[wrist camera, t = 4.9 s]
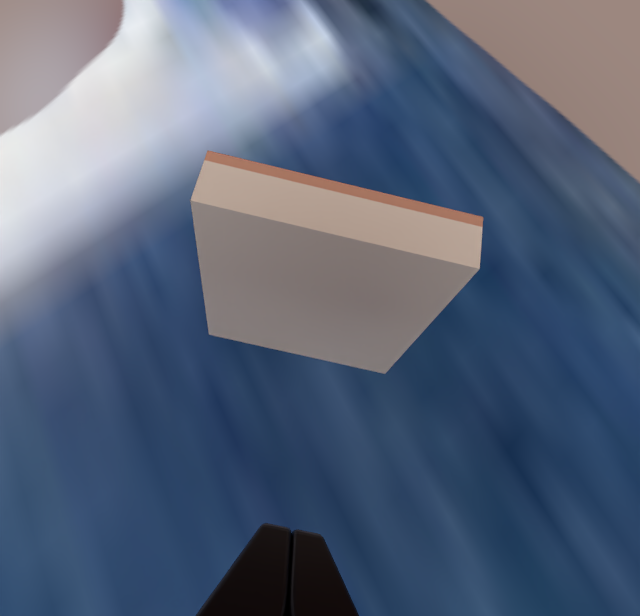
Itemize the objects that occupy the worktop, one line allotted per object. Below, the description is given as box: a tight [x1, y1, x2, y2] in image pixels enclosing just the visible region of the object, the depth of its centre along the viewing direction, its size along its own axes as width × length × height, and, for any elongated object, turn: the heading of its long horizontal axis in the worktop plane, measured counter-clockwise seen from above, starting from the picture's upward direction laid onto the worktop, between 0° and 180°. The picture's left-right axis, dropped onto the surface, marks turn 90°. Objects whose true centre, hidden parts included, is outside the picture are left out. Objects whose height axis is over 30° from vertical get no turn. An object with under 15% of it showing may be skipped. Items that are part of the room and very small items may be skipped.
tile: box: [190, 151, 483, 374], centre depth 17 cm, size 2×7×9 cm, turn 79°
